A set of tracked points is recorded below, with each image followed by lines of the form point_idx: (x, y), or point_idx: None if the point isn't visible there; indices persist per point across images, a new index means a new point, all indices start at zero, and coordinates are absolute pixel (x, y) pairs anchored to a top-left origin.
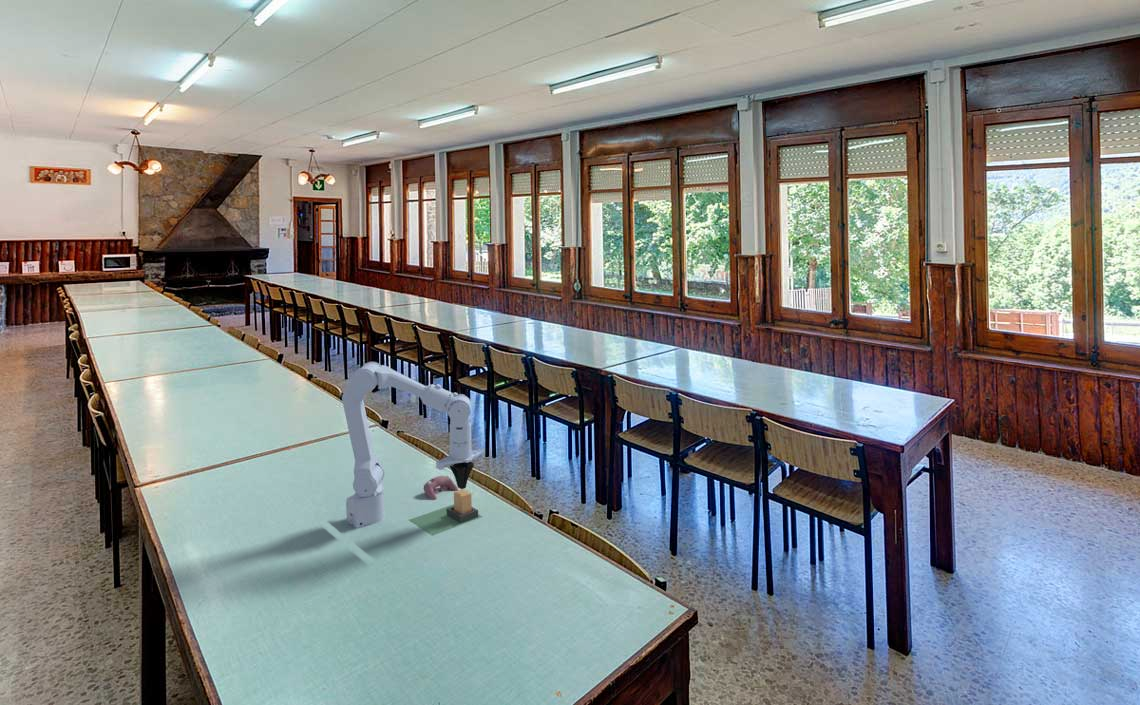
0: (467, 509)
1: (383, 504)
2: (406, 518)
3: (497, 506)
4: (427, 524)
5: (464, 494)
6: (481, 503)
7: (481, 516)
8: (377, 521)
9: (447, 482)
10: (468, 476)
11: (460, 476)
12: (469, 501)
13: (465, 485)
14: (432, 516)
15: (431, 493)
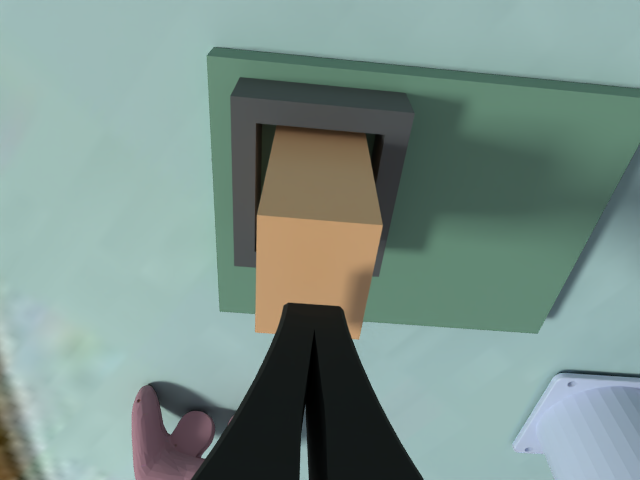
0: (316, 144)
1: (611, 472)
2: (486, 357)
3: (7, 141)
4: (537, 236)
5: (326, 245)
6: (87, 241)
7: (215, 63)
8: (629, 398)
9: (166, 462)
10: (239, 418)
11: (414, 471)
12: (289, 174)
13: (294, 323)
14: (436, 287)
15: None
